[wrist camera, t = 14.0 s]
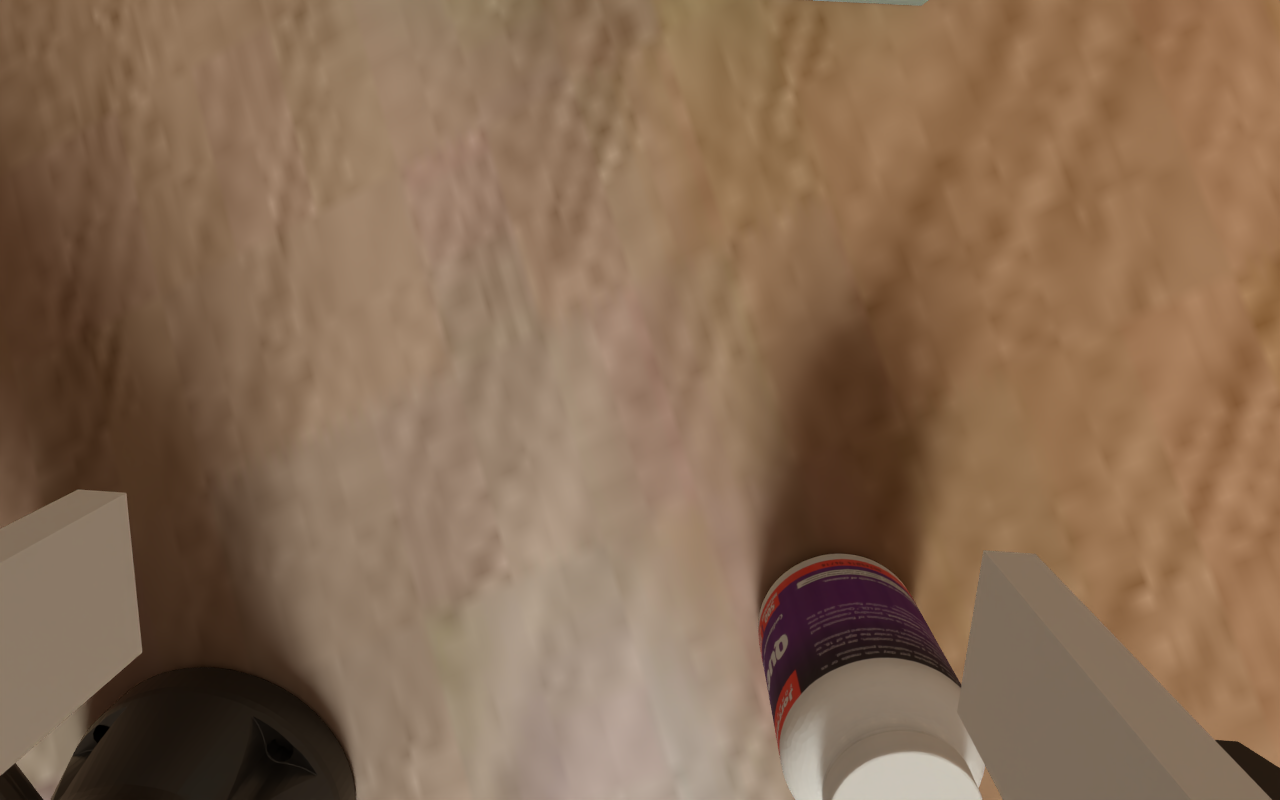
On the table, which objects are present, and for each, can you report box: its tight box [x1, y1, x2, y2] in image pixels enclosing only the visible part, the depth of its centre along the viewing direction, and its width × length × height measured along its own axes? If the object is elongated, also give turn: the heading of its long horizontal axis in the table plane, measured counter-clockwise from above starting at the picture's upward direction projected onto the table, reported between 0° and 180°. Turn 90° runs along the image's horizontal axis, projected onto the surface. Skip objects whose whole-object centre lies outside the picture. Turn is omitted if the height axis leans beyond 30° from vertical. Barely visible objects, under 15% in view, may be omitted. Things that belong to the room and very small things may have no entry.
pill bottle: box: [758, 554, 985, 800], centre depth 37 cm, size 8×8×14 cm
